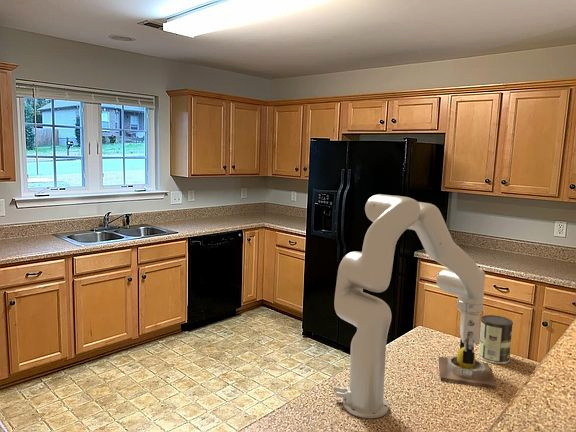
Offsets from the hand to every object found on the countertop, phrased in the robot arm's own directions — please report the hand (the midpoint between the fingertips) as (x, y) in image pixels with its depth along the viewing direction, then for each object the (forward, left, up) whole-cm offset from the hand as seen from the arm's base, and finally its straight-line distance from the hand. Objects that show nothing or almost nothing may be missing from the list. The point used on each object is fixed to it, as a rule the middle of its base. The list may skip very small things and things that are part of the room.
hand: (466, 356), depth 145 cm
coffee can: (+11, +16, -6) cm, 20 cm away
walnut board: (0, 0, -6) cm, 6 cm away
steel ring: (0, 0, -6) cm, 6 cm away
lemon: (0, 0, -5) cm, 5 cm away
